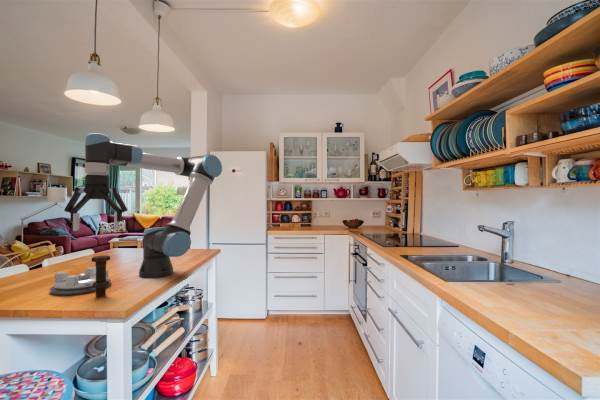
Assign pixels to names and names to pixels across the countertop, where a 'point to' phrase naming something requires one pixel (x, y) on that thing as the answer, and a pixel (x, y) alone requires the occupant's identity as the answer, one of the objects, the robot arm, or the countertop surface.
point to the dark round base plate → (74, 291)
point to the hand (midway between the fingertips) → (96, 230)
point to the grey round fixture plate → (76, 280)
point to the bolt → (100, 275)
